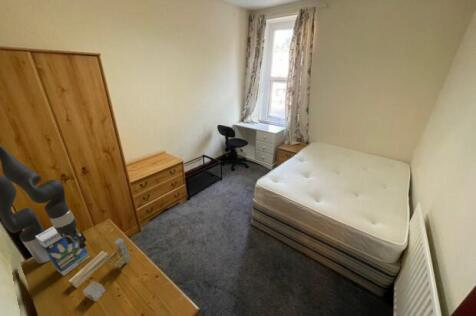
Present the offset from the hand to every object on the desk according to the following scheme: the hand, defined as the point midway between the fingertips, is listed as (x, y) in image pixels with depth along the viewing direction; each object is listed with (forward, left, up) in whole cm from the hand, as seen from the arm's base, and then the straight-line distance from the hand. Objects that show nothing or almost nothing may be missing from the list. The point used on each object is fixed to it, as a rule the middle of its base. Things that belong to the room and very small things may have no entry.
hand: (77, 245), depth 96 cm
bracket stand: (+13, 0, -20) cm, 24 cm away
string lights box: (-14, 0, -20) cm, 24 cm away
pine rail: (0, 0, -20) cm, 20 cm away
